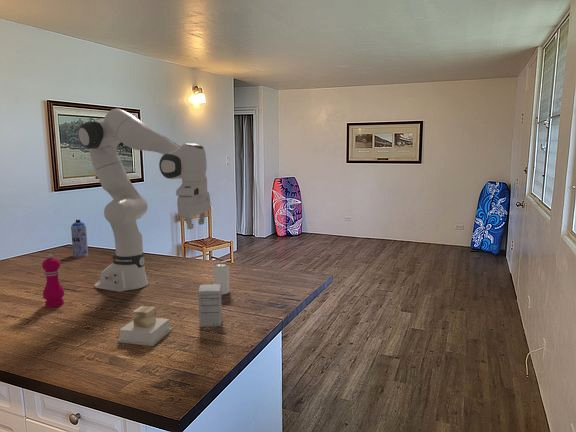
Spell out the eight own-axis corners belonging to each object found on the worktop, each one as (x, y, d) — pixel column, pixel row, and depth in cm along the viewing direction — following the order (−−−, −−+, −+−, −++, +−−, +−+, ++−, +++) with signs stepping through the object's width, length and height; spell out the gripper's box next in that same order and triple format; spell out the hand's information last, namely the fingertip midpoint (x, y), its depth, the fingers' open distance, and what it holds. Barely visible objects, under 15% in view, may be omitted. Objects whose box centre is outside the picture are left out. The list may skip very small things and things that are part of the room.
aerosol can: (69, 256, 240) (66, 220, 237) (78, 253, 248) (76, 218, 245) (82, 257, 239) (80, 221, 236) (91, 253, 247) (88, 218, 244)
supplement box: (201, 318, 154) (200, 284, 152) (222, 318, 155) (221, 283, 153) (198, 327, 147) (197, 291, 145) (221, 326, 148) (220, 290, 146)
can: (226, 295, 178) (225, 267, 176) (211, 294, 179) (210, 266, 177) (231, 290, 184) (231, 263, 182) (217, 289, 185) (216, 262, 183)
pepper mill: (43, 309, 163) (38, 257, 160) (44, 303, 169) (39, 253, 166) (65, 306, 166) (61, 255, 163) (65, 300, 172) (61, 251, 169)
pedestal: (117, 342, 136) (117, 330, 135) (139, 326, 147) (138, 315, 147) (152, 346, 133) (152, 333, 132) (171, 330, 145) (171, 318, 144)
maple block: (133, 326, 138) (132, 311, 137) (142, 320, 142) (141, 305, 142) (148, 328, 137) (147, 312, 136) (156, 321, 141) (155, 307, 141)
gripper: (198, 186, 168) (200, 221, 170) (173, 191, 149) (175, 231, 151) (214, 186, 167) (215, 222, 169) (190, 191, 147) (192, 232, 149)
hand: (196, 226), depth 160 cm, fingers open, 8 cm apart
